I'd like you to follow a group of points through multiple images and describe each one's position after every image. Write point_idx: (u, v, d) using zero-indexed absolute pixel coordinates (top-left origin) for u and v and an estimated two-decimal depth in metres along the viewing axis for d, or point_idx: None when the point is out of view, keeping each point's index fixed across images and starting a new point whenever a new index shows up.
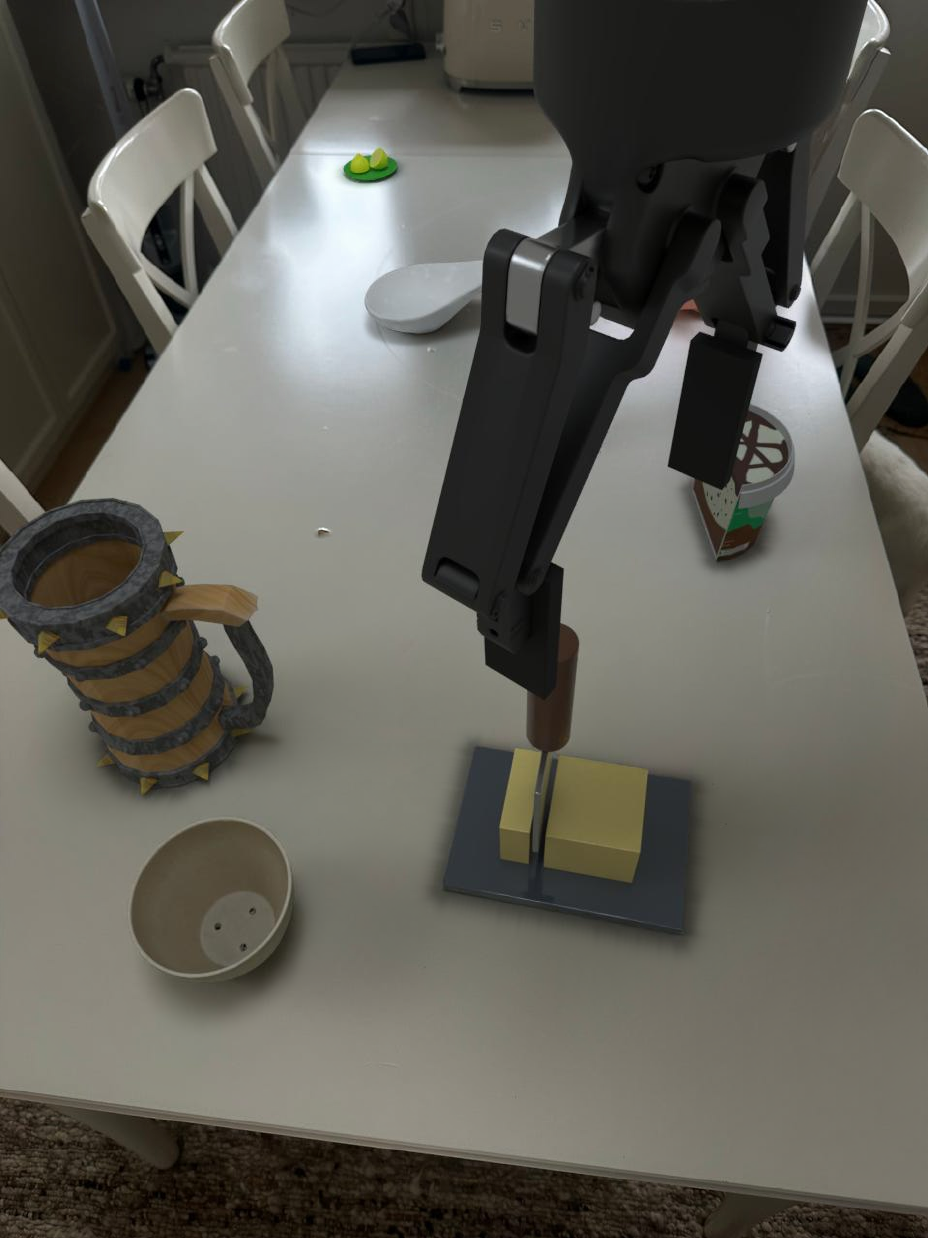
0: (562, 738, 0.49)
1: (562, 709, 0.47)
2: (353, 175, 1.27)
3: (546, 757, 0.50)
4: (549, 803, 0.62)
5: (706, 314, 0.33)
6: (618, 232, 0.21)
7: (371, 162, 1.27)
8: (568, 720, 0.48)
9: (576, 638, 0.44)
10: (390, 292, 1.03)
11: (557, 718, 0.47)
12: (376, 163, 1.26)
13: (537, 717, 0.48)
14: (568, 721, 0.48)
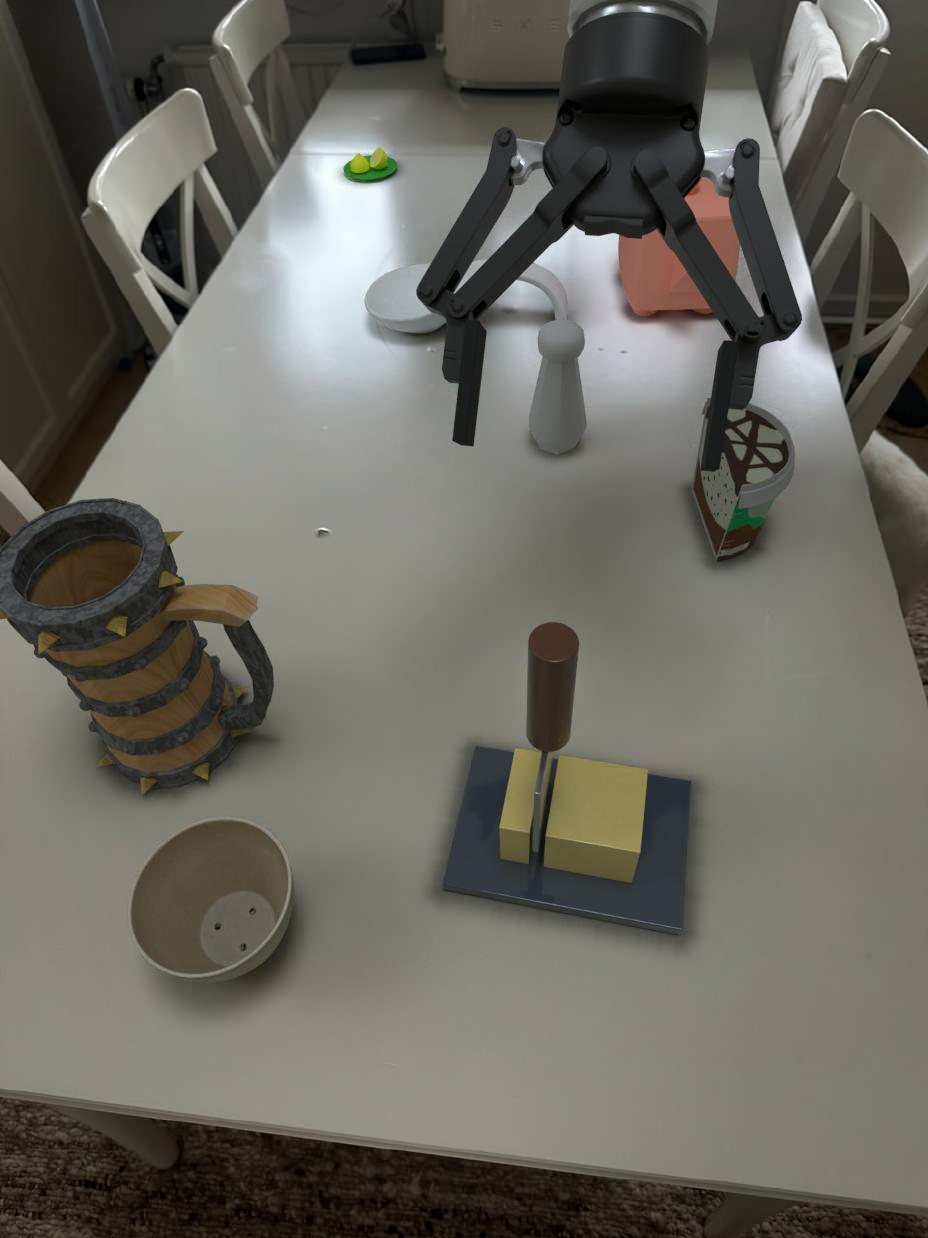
0: (562, 738, 0.49)
1: (562, 709, 0.47)
2: (353, 175, 1.27)
3: (546, 757, 0.50)
4: (549, 803, 0.62)
5: (722, 324, 0.46)
6: None
7: (371, 162, 1.27)
8: (568, 720, 0.48)
9: (576, 638, 0.44)
10: (390, 292, 1.03)
11: (557, 718, 0.47)
12: (376, 163, 1.26)
13: (537, 717, 0.48)
14: (568, 721, 0.48)
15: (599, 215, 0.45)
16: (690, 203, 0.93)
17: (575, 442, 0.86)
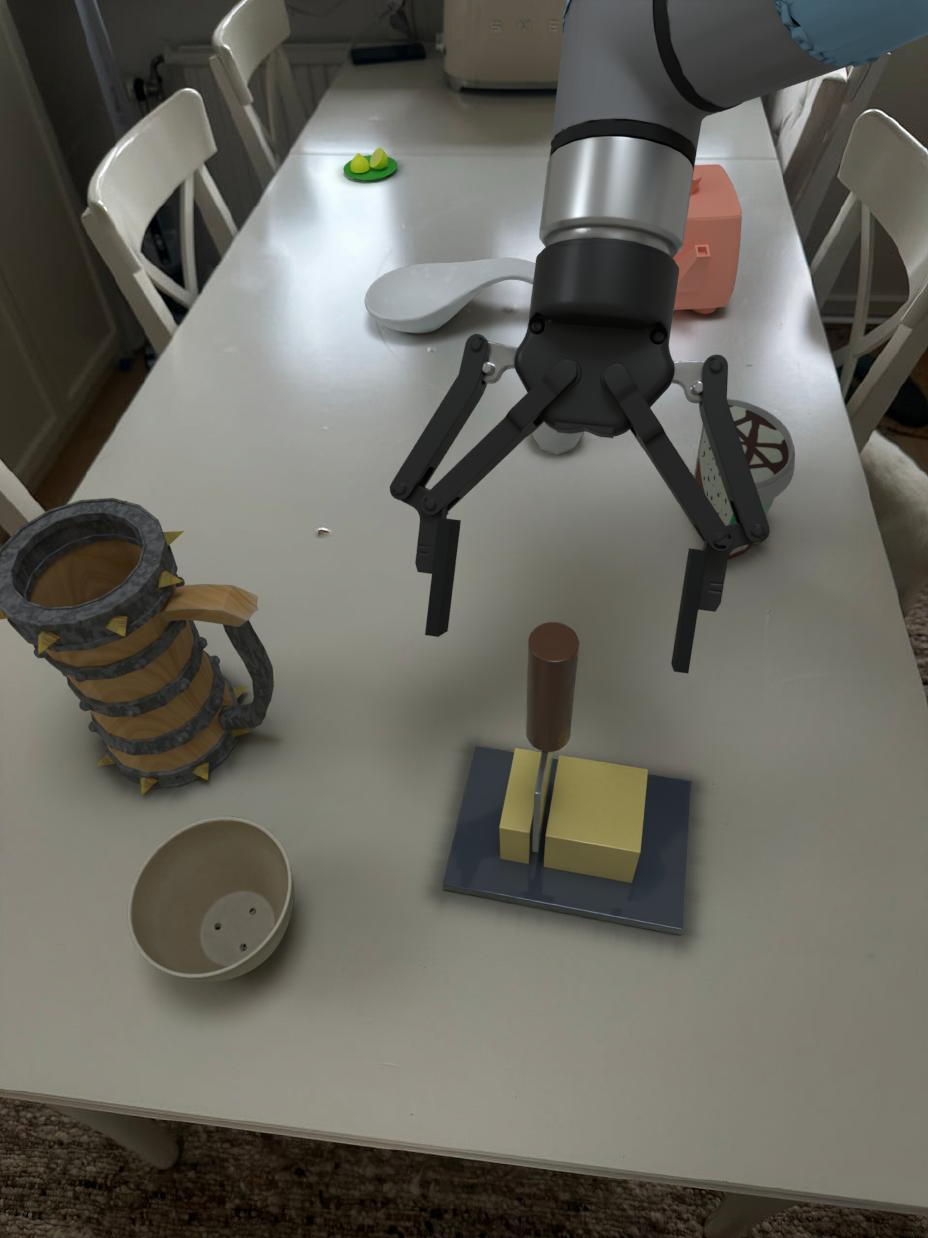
0: (562, 738, 0.49)
1: (562, 709, 0.47)
2: (353, 175, 1.27)
3: (546, 757, 0.50)
4: (549, 803, 0.62)
5: (692, 524, 0.47)
6: (518, 347, 0.46)
7: (371, 162, 1.27)
8: (568, 720, 0.48)
9: (576, 638, 0.44)
10: (390, 292, 1.03)
11: (557, 718, 0.47)
12: (376, 163, 1.26)
13: (537, 717, 0.48)
14: (568, 721, 0.48)
15: (570, 422, 0.46)
16: (690, 203, 0.93)
17: (575, 442, 0.86)
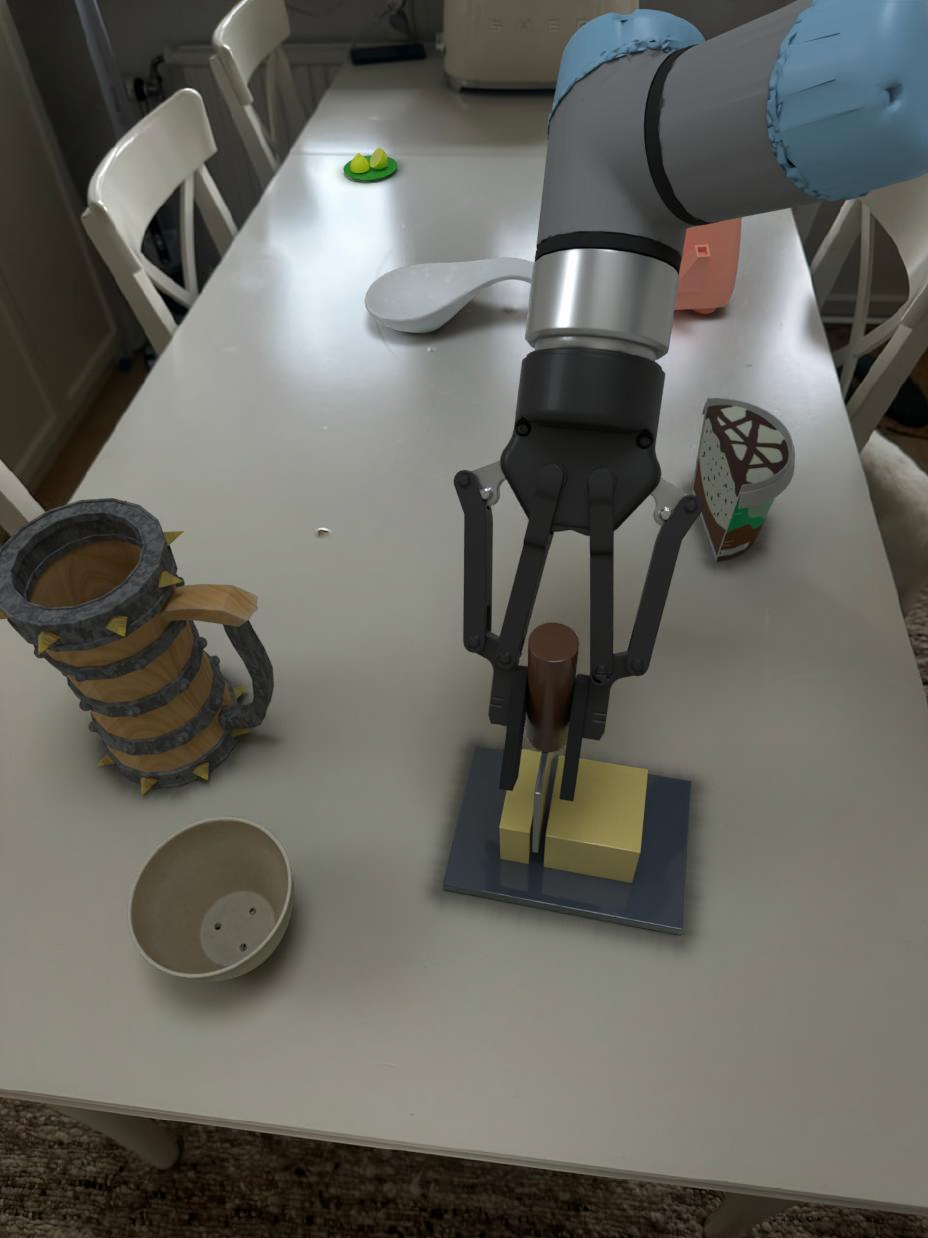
0: (563, 738, 0.49)
1: (562, 710, 0.47)
2: (353, 175, 1.27)
3: (546, 758, 0.50)
4: (549, 803, 0.62)
5: None
6: (504, 449, 0.46)
7: (371, 162, 1.27)
8: (568, 720, 0.48)
9: (576, 638, 0.44)
10: (390, 292, 1.03)
11: (557, 718, 0.47)
12: (376, 163, 1.26)
13: (537, 717, 0.48)
14: (568, 721, 0.48)
15: (556, 524, 0.45)
16: None
17: None
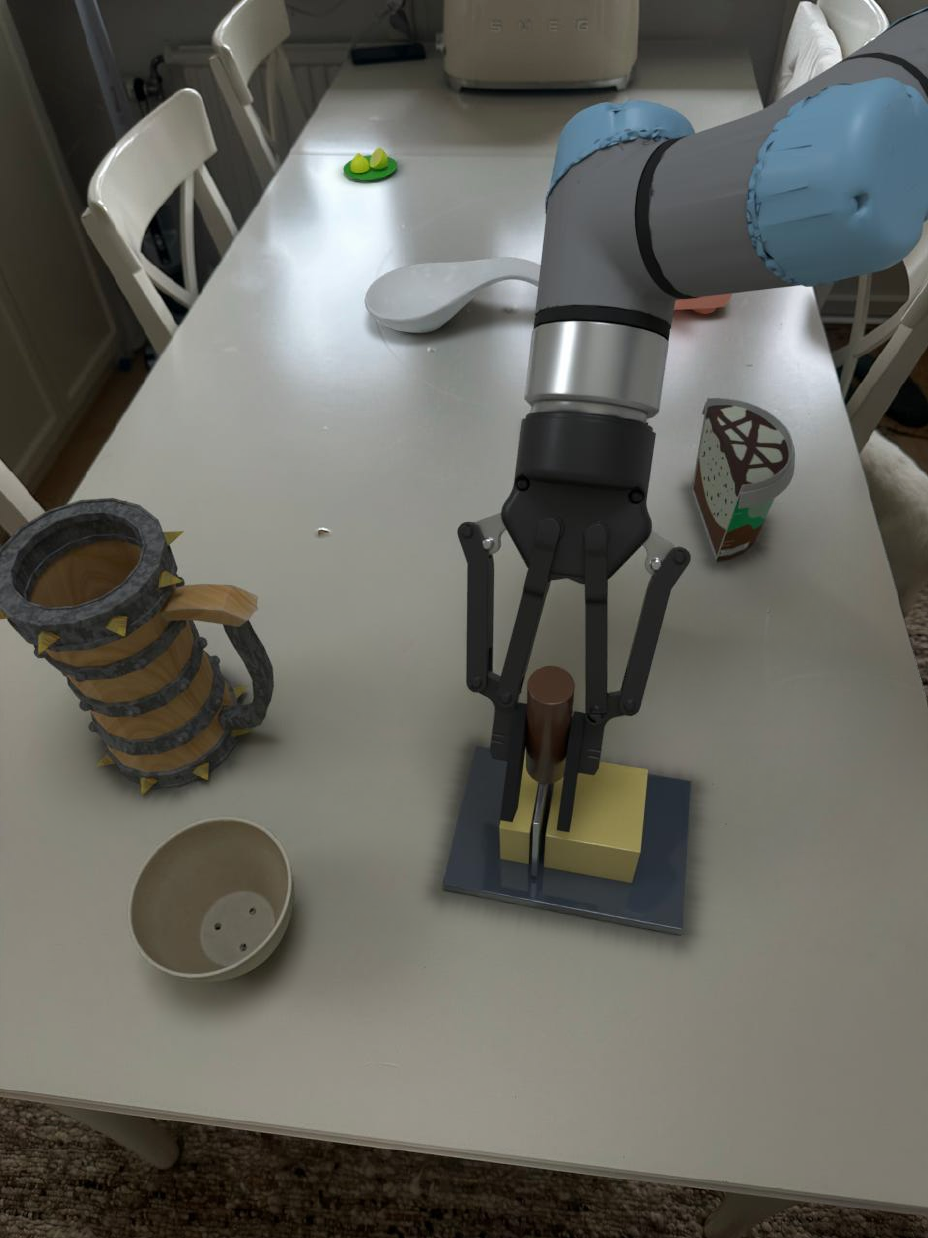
0: (560, 771, 0.52)
1: (559, 746, 0.50)
2: (353, 175, 1.27)
3: (544, 789, 0.53)
4: (549, 803, 0.62)
5: None
6: (505, 502, 0.49)
7: (371, 162, 1.27)
8: (565, 755, 0.51)
9: (572, 681, 0.47)
10: (390, 292, 1.03)
11: (554, 753, 0.50)
12: (376, 163, 1.26)
13: (535, 753, 0.51)
14: (565, 756, 0.51)
15: (554, 573, 0.48)
16: None
17: None
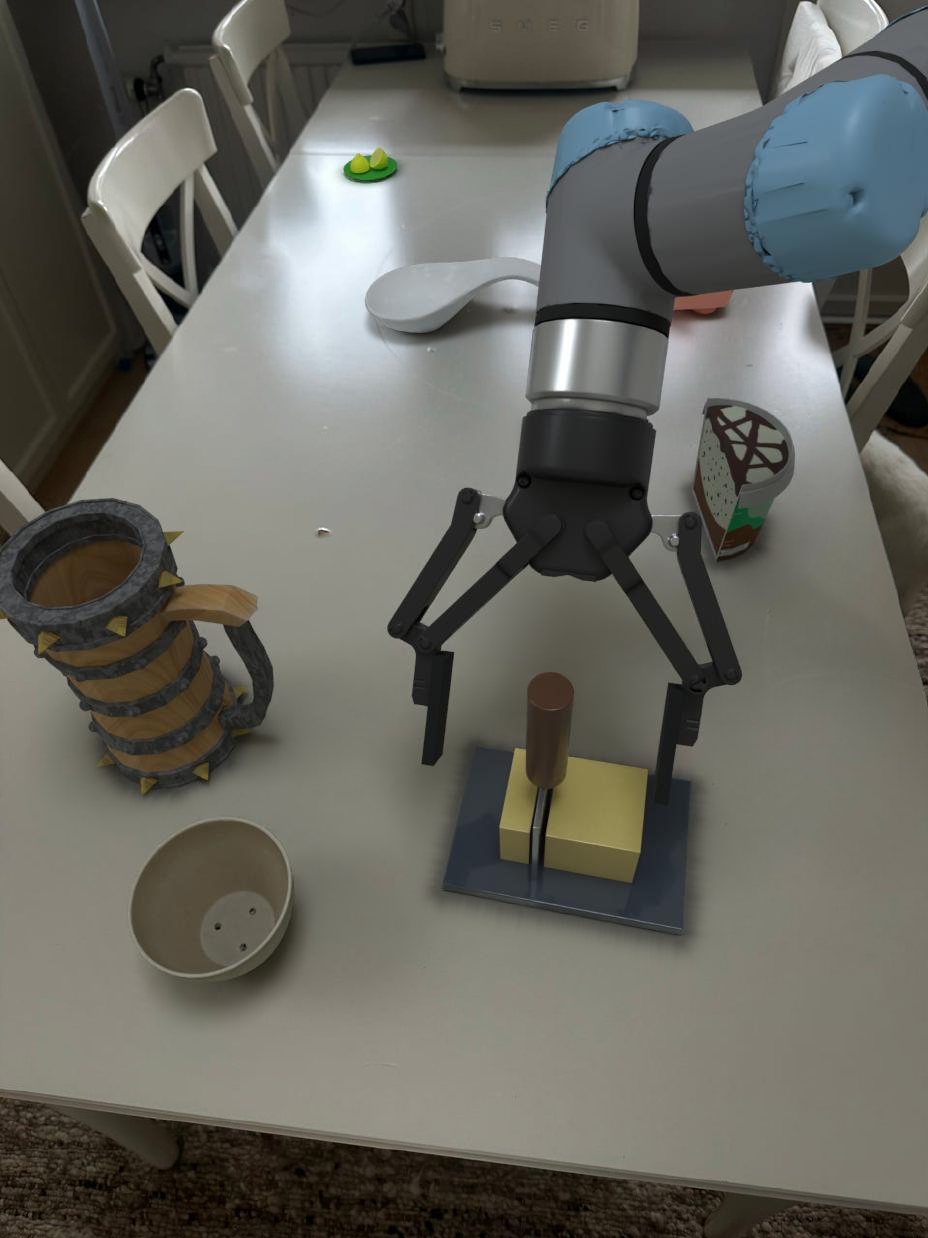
0: (559, 776, 0.53)
1: (559, 751, 0.50)
2: (353, 175, 1.27)
3: (544, 794, 0.53)
4: (549, 803, 0.62)
5: None
6: (506, 499, 0.49)
7: (371, 162, 1.27)
8: (564, 760, 0.52)
9: (571, 688, 0.48)
10: (390, 292, 1.03)
11: (554, 758, 0.51)
12: (376, 163, 1.26)
13: (535, 758, 0.51)
14: (564, 761, 0.52)
15: (555, 570, 0.49)
16: None
17: None
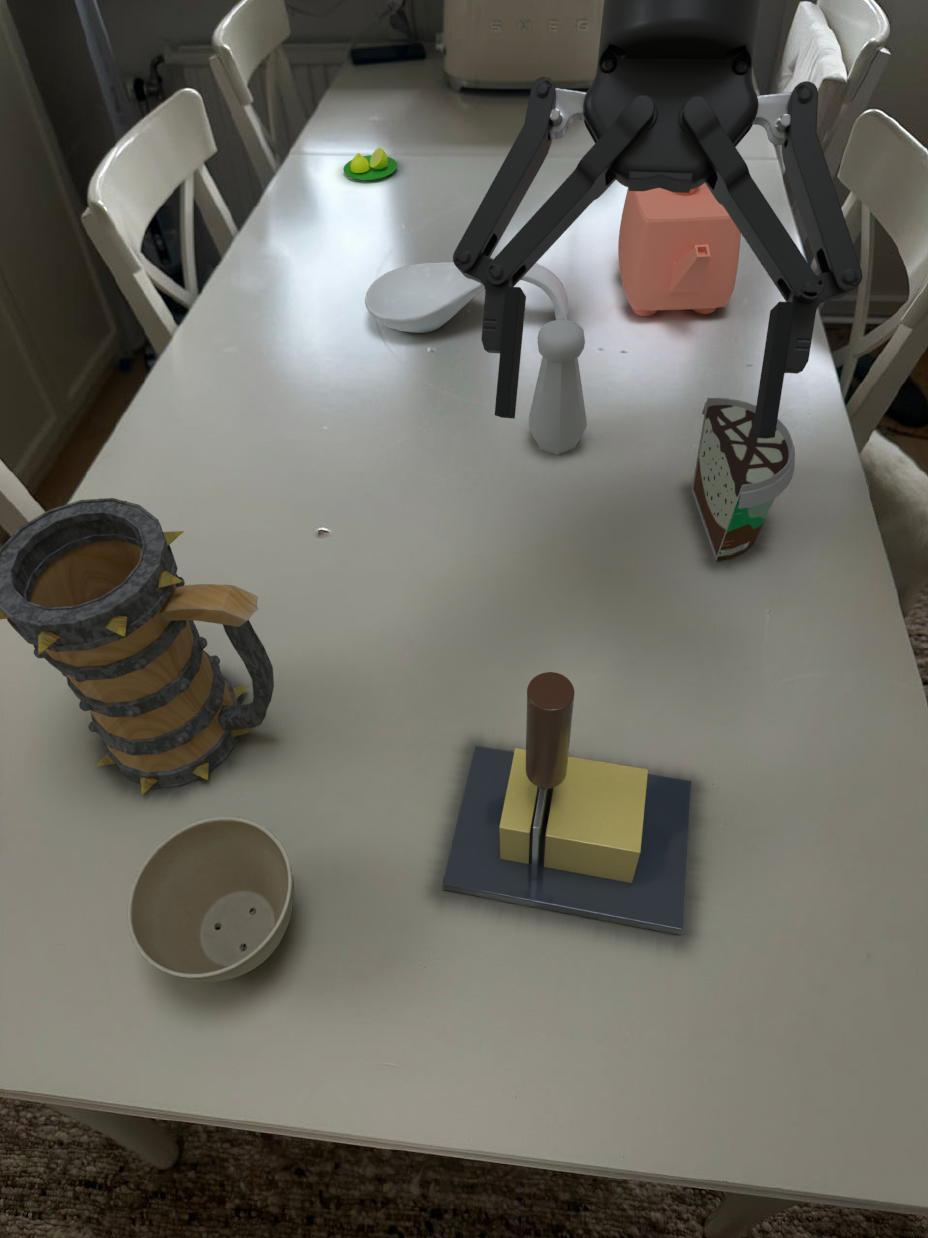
0: (559, 776, 0.53)
1: (559, 751, 0.50)
2: (353, 175, 1.27)
3: (544, 794, 0.53)
4: (549, 803, 0.62)
5: (775, 283, 0.44)
6: (588, 90, 0.43)
7: (371, 162, 1.27)
8: (564, 760, 0.52)
9: (571, 688, 0.48)
10: (390, 292, 1.03)
11: (554, 758, 0.51)
12: (376, 163, 1.26)
13: (535, 758, 0.51)
14: (564, 761, 0.52)
15: (645, 170, 0.43)
16: (690, 203, 0.93)
17: (575, 442, 0.86)
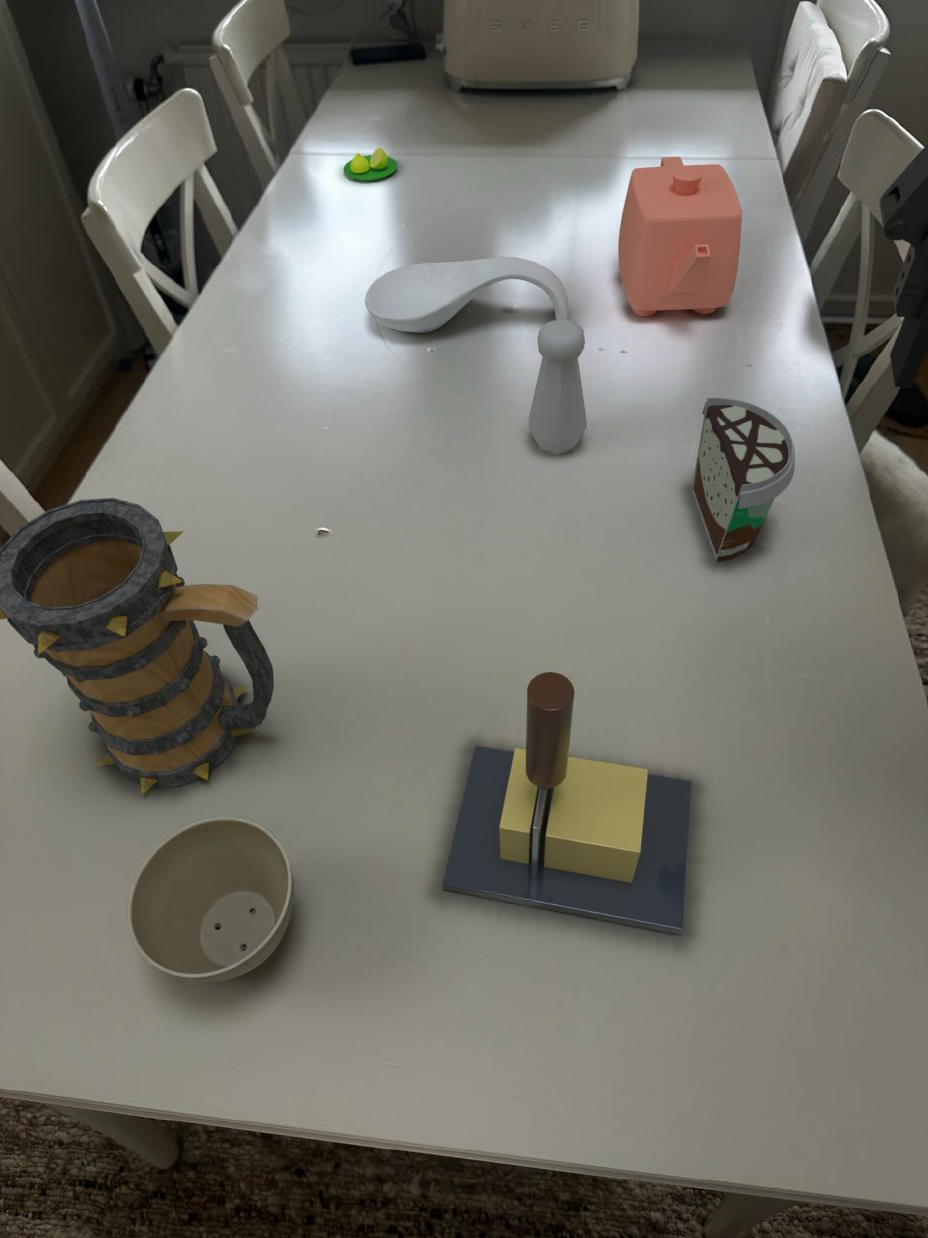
0: (559, 776, 0.53)
1: (559, 751, 0.50)
2: (353, 175, 1.27)
3: (544, 794, 0.53)
4: (549, 803, 0.62)
5: None
6: None
7: (371, 162, 1.27)
8: (564, 760, 0.52)
9: (571, 688, 0.48)
10: (390, 292, 1.03)
11: (554, 758, 0.51)
12: (376, 163, 1.26)
13: (535, 758, 0.51)
14: (564, 761, 0.52)
15: None
16: (690, 203, 0.93)
17: (575, 442, 0.86)
